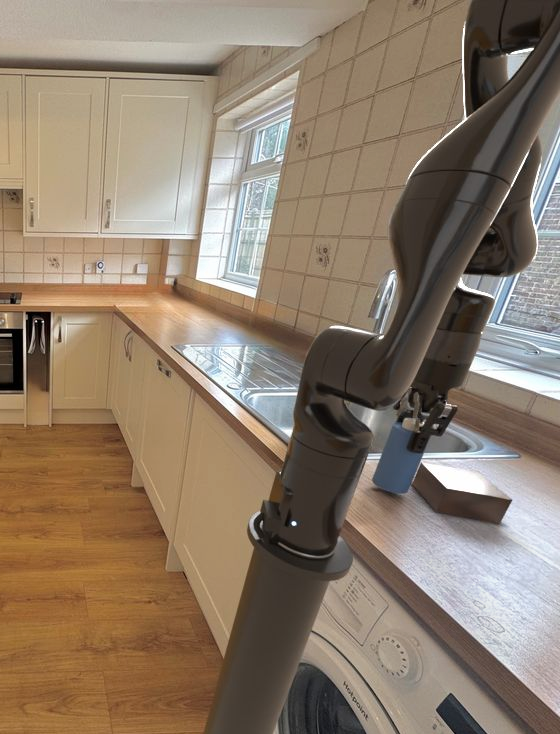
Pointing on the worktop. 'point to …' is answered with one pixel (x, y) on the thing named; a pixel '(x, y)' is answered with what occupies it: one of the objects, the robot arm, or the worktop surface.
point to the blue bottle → (398, 459)
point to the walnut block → (461, 493)
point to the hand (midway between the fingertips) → (406, 443)
